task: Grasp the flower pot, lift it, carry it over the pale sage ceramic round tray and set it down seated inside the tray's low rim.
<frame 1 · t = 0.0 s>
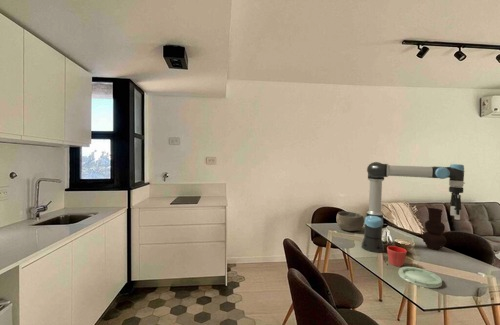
hand: (454, 217, 166), 28 cm above the table, fingers open, 13 cm apart
vase: (433, 248, 184), on the table
bowl: (349, 230, 227), on the table
round tray: (419, 278, 136), on the table
flower pot: (396, 264, 155), on the table
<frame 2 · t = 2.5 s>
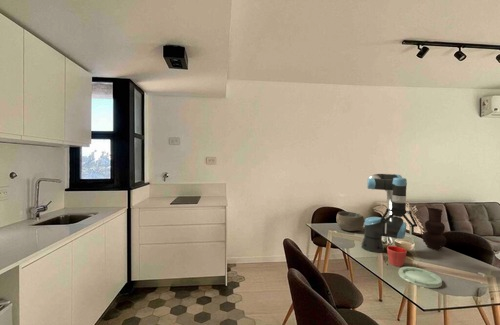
hand: (397, 235, 154), 19 cm above the table, fingers open, 13 cm apart
nothing on the table moved.
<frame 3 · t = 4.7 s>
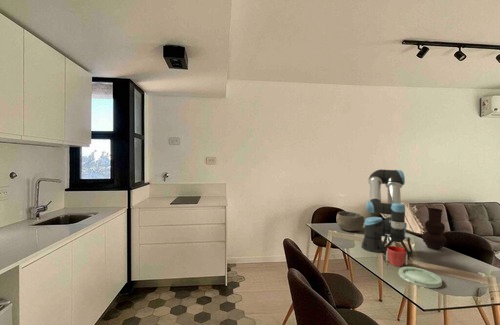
hand: (396, 261, 155), 1 cm above the table, fingers closed on flower pot, 10 cm apart
flower pot: (396, 264, 155), on the table, touching gripper
everything else where it was.
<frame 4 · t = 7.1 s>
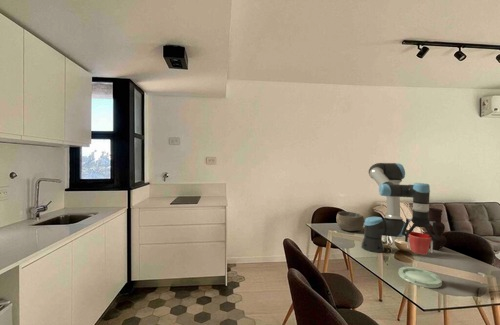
hand: (419, 249, 136), 16 cm above the table, fingers closed on flower pot, 10 cm apart
flower pot: (419, 252, 136), point 15 cm above the table, touching gripper
everything else where it was.
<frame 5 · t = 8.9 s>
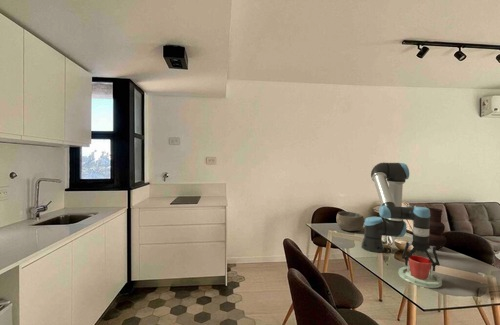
hand: (419, 273, 136), 3 cm above the table, fingers closed on flower pot, 10 cm apart
flower pot: (419, 276, 136), point 1 cm above the table, touching gripper
everything else where it was.
when the fingers open (2 cm above the table, at t = 9.4 s): flower pot moves 2 cm, resting on round tray.
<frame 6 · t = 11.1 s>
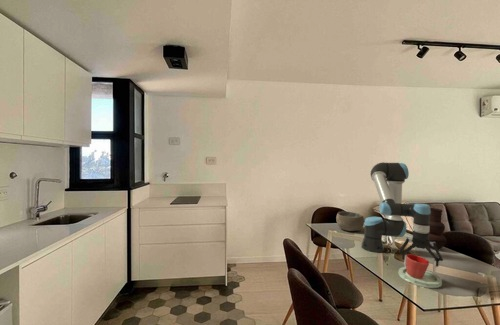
hand: (419, 268, 136), 6 cm above the table, fingers open, 13 cm apart
flower pot: (414, 275, 137), point 1 cm above the table, touching round tray
everything else where it was.
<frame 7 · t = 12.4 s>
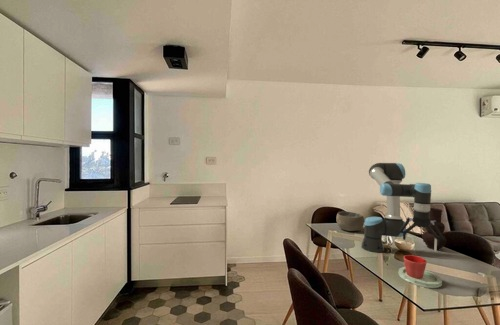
hand: (420, 248, 136), 17 cm above the table, fingers open, 13 cm apart
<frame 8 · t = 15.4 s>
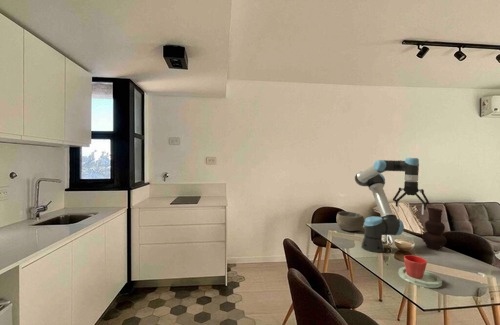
hand: (410, 213, 160), 32 cm above the table, fingers open, 13 cm apart
nothing on the table moved.
at the end: flower pot 2.2 cm from the round tray (horizontally); flower pot tilted 0°; the gripper is holding nothing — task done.
